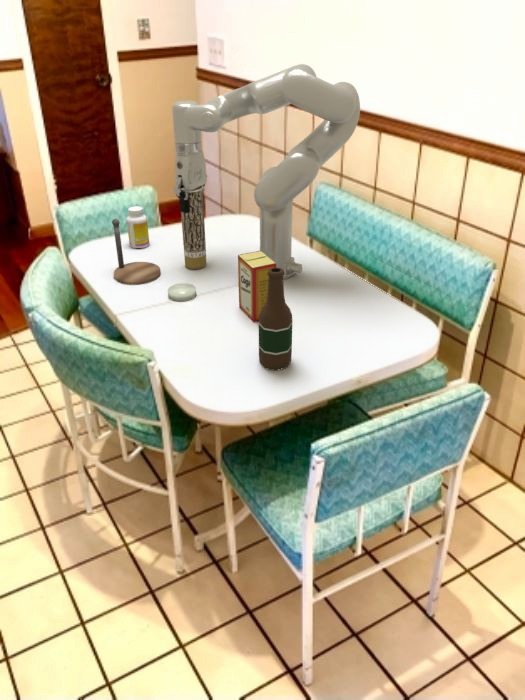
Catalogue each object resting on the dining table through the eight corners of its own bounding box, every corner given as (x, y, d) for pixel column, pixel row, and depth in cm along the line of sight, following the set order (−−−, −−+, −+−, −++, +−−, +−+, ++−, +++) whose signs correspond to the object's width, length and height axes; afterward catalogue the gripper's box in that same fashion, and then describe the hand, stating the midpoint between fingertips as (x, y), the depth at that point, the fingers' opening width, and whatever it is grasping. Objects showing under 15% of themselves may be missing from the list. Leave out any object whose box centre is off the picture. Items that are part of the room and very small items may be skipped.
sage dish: (201, 292, 184) (201, 286, 183) (185, 303, 178) (185, 297, 177) (178, 286, 187) (178, 281, 186) (162, 297, 181) (162, 291, 180)
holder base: (169, 270, 197) (165, 218, 188) (141, 288, 186) (135, 234, 177) (133, 262, 202) (127, 211, 194) (104, 278, 192) (96, 225, 183)
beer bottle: (290, 353, 155) (292, 262, 143) (292, 370, 148) (295, 277, 136) (258, 353, 155) (257, 262, 142) (259, 371, 148) (258, 277, 136)
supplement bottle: (153, 244, 215) (150, 207, 208) (140, 250, 210) (136, 213, 204) (138, 240, 218) (134, 203, 211) (125, 246, 213) (120, 209, 207)
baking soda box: (275, 317, 171) (276, 262, 162) (253, 322, 168) (252, 266, 160) (260, 302, 178) (260, 249, 170) (239, 307, 176) (237, 253, 167)
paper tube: (182, 263, 201) (176, 185, 188) (202, 259, 204) (197, 182, 191) (189, 271, 196) (183, 191, 183) (209, 267, 198) (205, 188, 185)
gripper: (181, 156, 173) (186, 219, 182) (215, 142, 186) (218, 201, 195) (159, 152, 176) (164, 215, 185) (194, 139, 189) (197, 198, 198)
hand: (192, 207), depth 190 cm, fingers closed on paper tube, 6 cm apart
